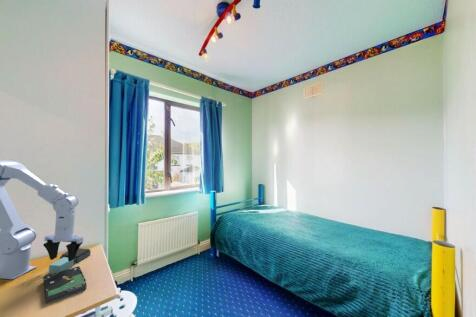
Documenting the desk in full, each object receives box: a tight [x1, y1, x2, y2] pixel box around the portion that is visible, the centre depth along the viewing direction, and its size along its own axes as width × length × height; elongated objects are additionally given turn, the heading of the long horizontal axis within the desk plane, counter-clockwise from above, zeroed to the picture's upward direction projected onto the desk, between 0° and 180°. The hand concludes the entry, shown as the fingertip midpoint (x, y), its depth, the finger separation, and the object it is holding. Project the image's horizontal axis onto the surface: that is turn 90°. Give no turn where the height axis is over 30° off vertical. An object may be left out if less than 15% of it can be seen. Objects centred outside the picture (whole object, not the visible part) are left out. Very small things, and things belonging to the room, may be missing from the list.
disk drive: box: [43, 265, 87, 304], centre depth 69 cm, size 10×3×15 cm
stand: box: [59, 247, 92, 264], centre depth 87 cm, size 8×7×3 cm
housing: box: [48, 257, 74, 274], centre depth 78 cm, size 4×6×3 cm
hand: (62, 259), depth 78 cm, fingers open, 7 cm apart
